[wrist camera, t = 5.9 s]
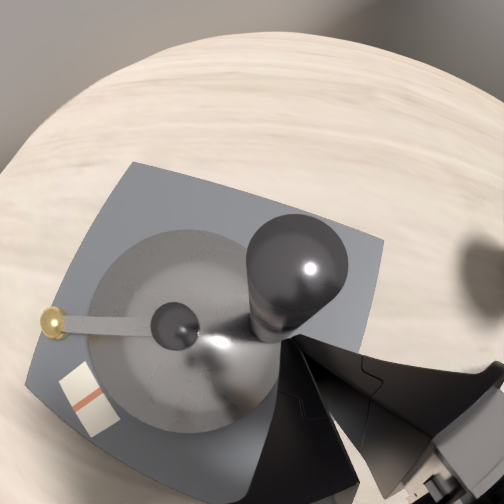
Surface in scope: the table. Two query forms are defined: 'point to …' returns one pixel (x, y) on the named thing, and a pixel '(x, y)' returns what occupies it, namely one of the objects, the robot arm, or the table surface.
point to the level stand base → (77, 348)
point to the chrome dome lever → (204, 318)
